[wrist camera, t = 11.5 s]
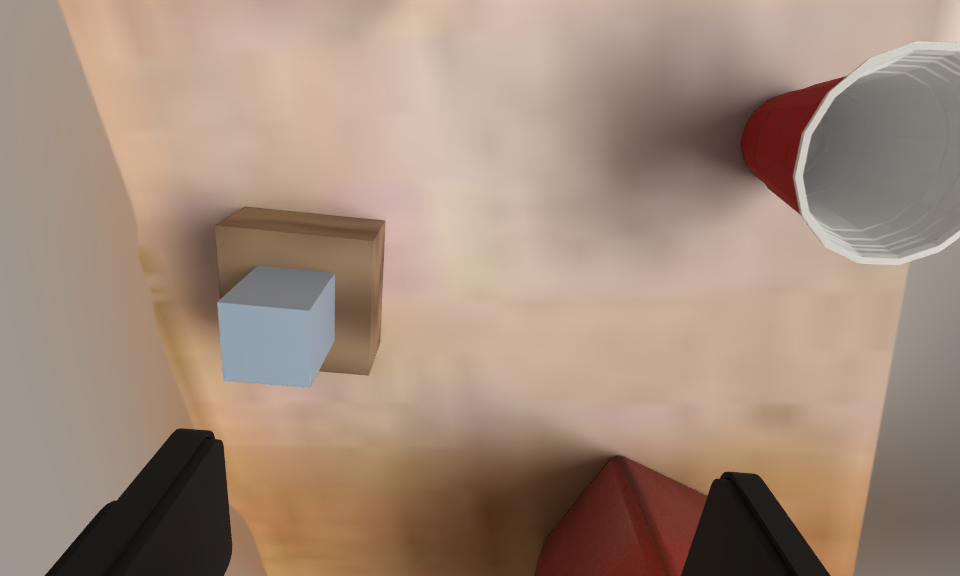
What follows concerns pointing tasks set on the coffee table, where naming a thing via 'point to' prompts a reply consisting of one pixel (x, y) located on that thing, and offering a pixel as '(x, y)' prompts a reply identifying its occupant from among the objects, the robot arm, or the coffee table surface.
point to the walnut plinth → (315, 269)
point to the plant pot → (625, 526)
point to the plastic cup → (869, 154)
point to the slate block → (277, 326)
